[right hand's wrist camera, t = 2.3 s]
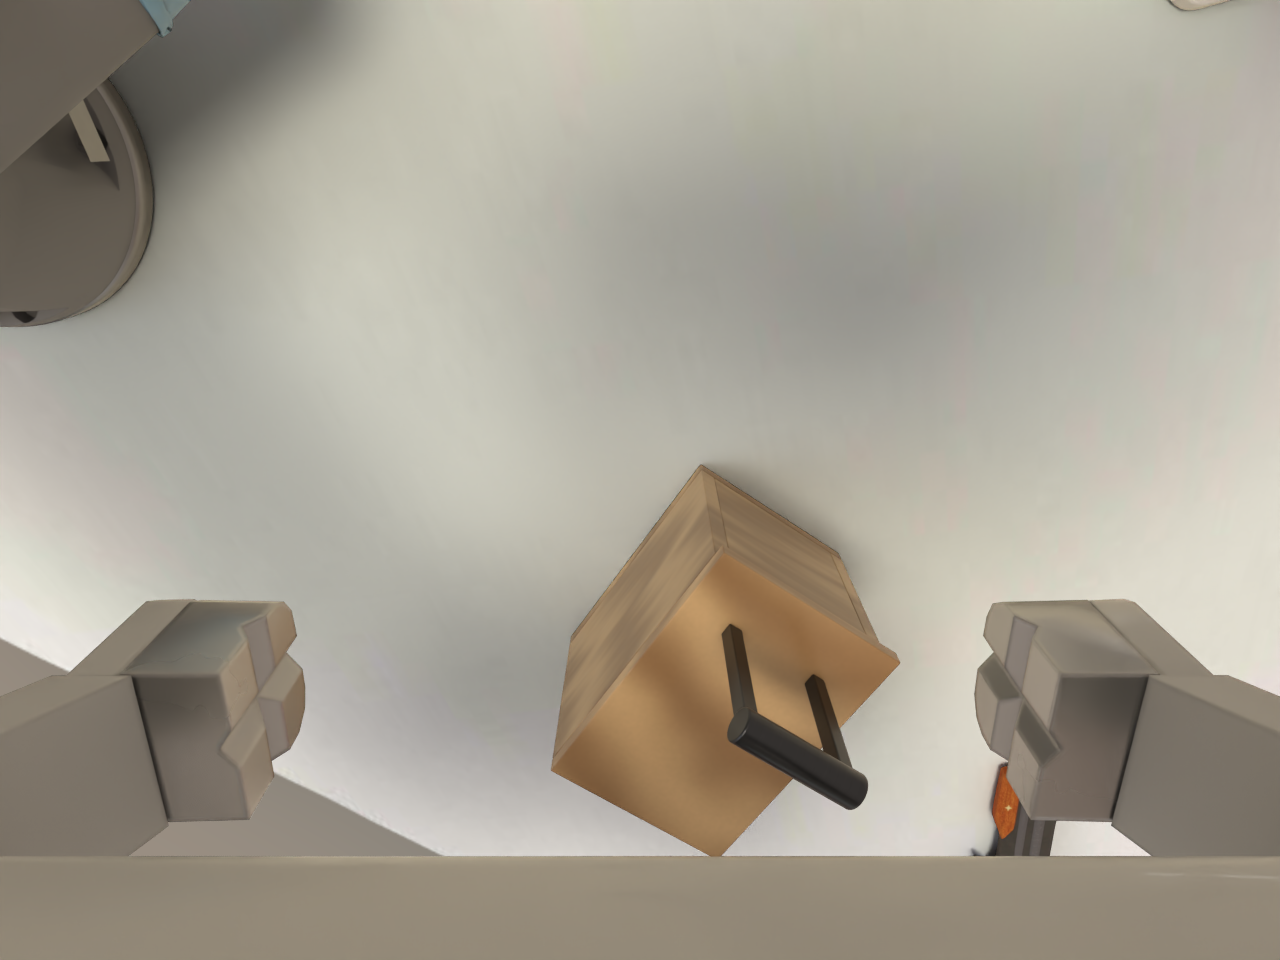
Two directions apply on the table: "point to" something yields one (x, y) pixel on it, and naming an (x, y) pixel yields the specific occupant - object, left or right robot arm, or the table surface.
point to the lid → (729, 708)
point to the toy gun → (1018, 824)
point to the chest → (671, 566)
